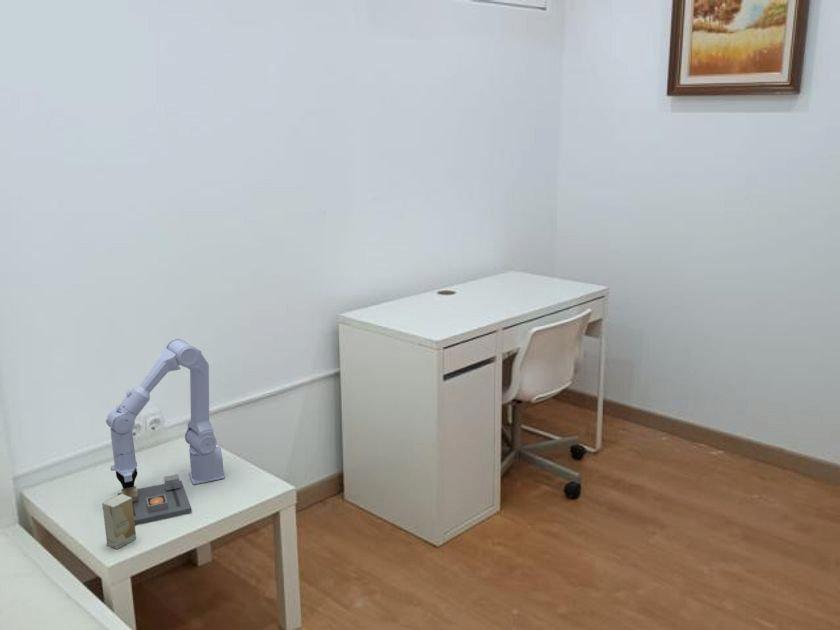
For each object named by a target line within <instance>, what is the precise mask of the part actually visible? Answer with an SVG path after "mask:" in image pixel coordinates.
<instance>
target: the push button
mask: <svg viewBox="0 0 840 630" xmlns="http://www.w3.org/2000/svg"><path fill="white" fill-rule="evenodd" d="M159 503H164V500H163V498H161V497H156V498H153V499H151V500H150V505H155V504H159Z"/></svg>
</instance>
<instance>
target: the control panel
mask: <svg viewBox="0 0 840 630" xmlns="http://www.w3.org/2000/svg"><path fill="white" fill-rule="evenodd" d="M180 487H181V488H176V489H171V490H166V488H165V483H161V484H158V485H157V484H156V485H152V486H146V487H142V488H137V493H138V500H137V501H133V502H132V504H133V513H134V523H135V526H139V525H143V524H148V523H152V522H156V521H160V520H166V519H170V518H175V517H179V516H183V515H189V514H191V513H193V510H192V505H191V503H190V500H189V498H188V495H187V492H186V489H185V487H184V485H183V481H182V480H180ZM120 494H122V491H121V492H117V496H118V495H120ZM156 497H161V498H163V500H164V503H159V504H155V505H150V500H151V499H153V498H156Z"/></svg>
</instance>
